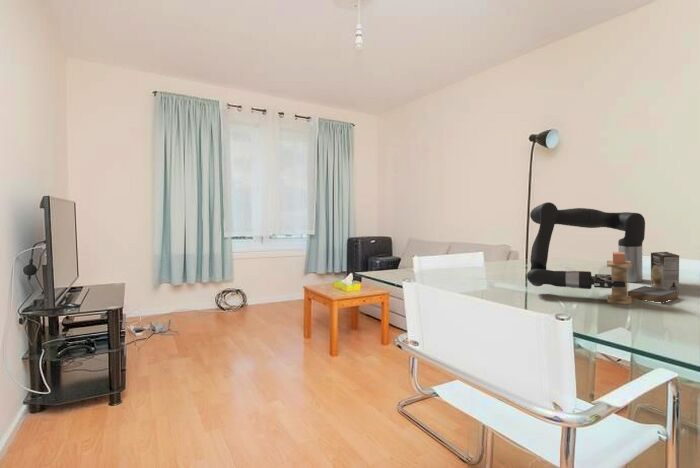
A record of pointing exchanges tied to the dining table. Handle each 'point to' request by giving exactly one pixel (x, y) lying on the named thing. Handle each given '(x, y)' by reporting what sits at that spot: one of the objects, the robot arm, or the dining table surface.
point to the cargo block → (618, 257)
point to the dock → (653, 294)
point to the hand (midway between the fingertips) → (624, 281)
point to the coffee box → (665, 271)
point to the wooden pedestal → (619, 275)
